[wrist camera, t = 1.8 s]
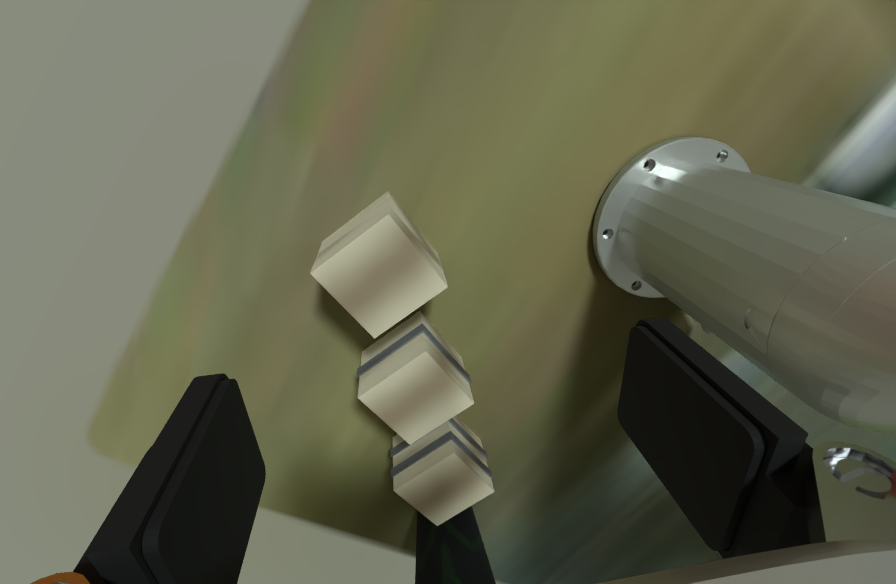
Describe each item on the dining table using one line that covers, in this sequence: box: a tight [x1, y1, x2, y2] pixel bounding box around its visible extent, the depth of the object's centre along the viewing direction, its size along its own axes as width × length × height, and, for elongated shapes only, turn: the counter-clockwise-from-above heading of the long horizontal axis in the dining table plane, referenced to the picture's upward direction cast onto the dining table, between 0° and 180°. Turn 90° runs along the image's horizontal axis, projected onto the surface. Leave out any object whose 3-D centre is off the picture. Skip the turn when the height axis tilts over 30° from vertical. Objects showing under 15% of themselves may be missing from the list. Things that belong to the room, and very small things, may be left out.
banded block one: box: [357, 311, 474, 445], centre depth 34 cm, size 6×6×6 cm
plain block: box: [310, 191, 448, 339], centre depth 29 cm, size 6×6×6 cm
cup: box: [415, 506, 496, 584], centre depth 40 cm, size 8×8×12 cm
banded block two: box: [390, 415, 494, 526], centre depth 38 cm, size 6×6×6 cm
